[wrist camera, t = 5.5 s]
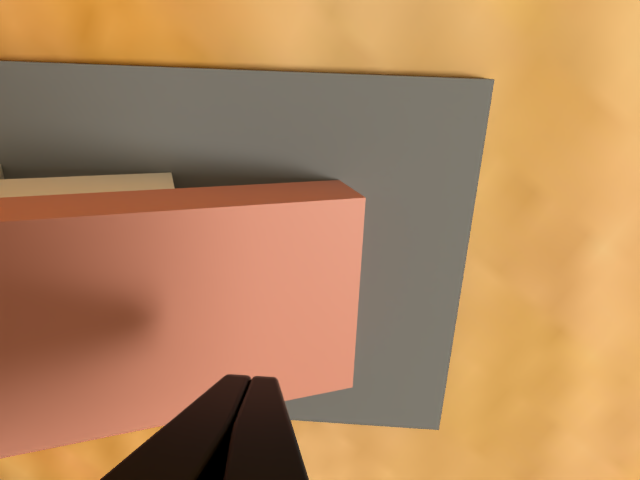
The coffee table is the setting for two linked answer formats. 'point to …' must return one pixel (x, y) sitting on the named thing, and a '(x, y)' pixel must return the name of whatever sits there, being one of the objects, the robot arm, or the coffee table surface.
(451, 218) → the mat
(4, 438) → the domino
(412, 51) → the coffee table surface
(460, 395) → the coffee table surface
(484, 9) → the coffee table surface
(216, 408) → the robot arm
